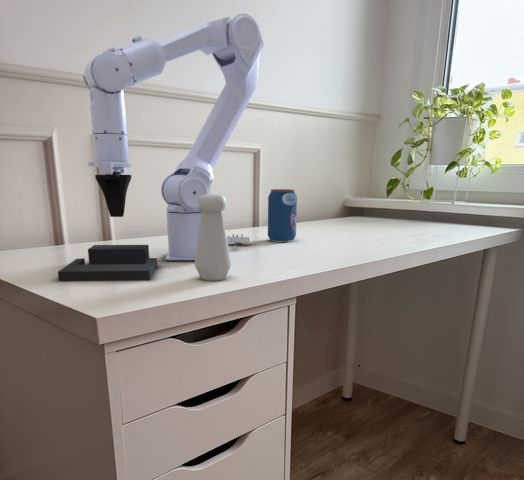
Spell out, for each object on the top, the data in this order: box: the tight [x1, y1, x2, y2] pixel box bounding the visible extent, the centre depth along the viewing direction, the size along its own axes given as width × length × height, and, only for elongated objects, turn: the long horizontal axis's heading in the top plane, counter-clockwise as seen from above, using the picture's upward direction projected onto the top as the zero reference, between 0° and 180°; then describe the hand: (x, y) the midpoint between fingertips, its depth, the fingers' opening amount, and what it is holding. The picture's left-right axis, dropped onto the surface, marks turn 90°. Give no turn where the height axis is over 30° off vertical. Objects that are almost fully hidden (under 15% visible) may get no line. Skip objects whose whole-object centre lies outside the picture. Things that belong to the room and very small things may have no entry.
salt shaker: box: [194, 193, 232, 282], centre depth 81 cm, size 6×6×13 cm
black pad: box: [57, 257, 158, 282], centre depth 86 cm, size 14×12×2 cm
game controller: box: [226, 233, 251, 248], centre depth 117 cm, size 6×12×3 cm, turn 16°
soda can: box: [267, 188, 298, 243], centre depth 125 cm, size 7×7×12 cm
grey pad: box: [87, 244, 150, 265], centre depth 95 cm, size 10×6×3 cm, turn 95°
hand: (117, 216), depth 93 cm, fingers closed
